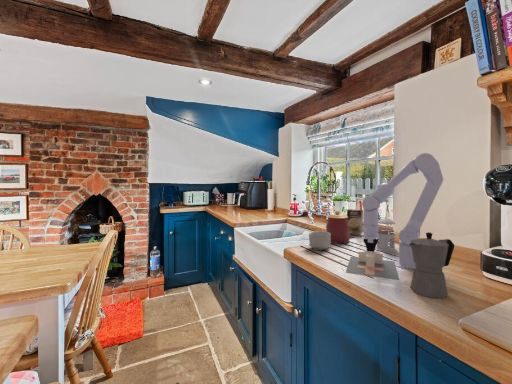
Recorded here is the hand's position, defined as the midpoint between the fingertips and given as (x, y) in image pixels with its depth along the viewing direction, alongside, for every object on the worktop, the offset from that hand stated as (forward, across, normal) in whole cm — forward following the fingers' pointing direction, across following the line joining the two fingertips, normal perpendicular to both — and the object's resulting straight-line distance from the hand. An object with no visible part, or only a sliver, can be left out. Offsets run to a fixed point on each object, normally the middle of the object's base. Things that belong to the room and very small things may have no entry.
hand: (370, 255), depth 106 cm
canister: (+2, -30, -18) cm, 35 cm away
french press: (+2, -22, +7) cm, 23 cm away
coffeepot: (+2, +27, +17) cm, 32 cm away
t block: (+1, +8, 0) cm, 8 cm away
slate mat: (+2, +11, 0) cm, 11 cm away
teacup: (+2, -11, -24) cm, 26 cm away
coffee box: (+2, -55, -10) cm, 56 cm away
